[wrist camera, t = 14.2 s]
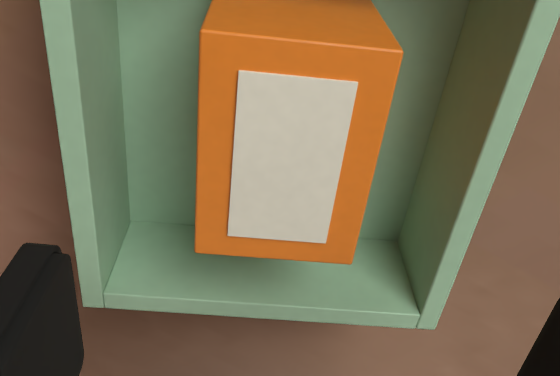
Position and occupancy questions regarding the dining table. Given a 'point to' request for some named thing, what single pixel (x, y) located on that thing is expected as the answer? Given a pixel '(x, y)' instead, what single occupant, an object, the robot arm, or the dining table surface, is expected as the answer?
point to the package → (290, 125)
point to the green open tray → (183, 146)
